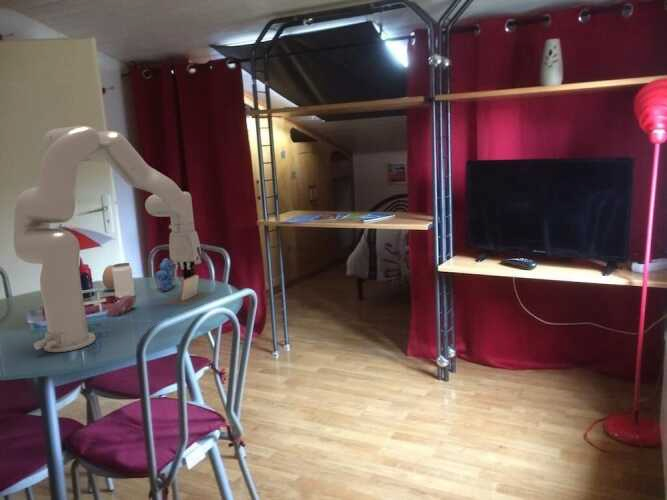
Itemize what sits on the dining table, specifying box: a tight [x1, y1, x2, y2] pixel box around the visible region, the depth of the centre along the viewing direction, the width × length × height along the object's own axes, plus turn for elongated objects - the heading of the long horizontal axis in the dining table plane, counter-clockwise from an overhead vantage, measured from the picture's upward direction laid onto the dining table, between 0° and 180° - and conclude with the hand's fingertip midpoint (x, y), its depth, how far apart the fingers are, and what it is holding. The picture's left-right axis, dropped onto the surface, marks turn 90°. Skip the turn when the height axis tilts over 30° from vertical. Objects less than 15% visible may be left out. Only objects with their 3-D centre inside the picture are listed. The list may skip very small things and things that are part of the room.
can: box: [112, 262, 136, 298], centre depth 186 cm, size 6×6×12 cm
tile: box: [180, 274, 200, 301], centre depth 179 cm, size 8×1×7 cm, turn 162°
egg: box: [102, 264, 115, 291], centre depth 198 cm, size 7×7×10 cm
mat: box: [158, 290, 215, 306], centre depth 179 cm, size 16×12×1 cm
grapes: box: [154, 257, 175, 292], centre depth 192 cm, size 12×7×12 cm, turn 1°
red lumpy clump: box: [106, 295, 137, 317], centre depth 166 cm, size 10×5×7 cm, turn 169°
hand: (188, 279), depth 181 cm, fingers closed
